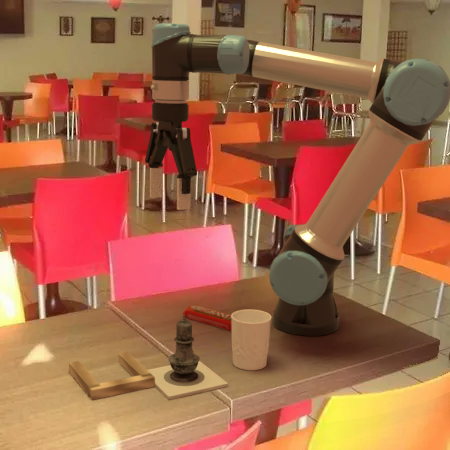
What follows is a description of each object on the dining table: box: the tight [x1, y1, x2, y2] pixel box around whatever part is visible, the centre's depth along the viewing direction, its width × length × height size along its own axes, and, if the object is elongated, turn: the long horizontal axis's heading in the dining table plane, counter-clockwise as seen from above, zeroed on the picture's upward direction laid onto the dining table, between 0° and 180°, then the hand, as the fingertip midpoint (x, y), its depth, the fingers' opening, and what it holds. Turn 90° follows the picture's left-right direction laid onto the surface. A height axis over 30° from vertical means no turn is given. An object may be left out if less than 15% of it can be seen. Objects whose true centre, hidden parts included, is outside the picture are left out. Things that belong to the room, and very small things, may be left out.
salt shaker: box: [167, 315, 201, 383], centre depth 133 cm, size 6×6×12 cm
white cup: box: [230, 308, 273, 371], centre depth 142 cm, size 8×8×10 cm
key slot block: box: [68, 351, 155, 401], centre depth 134 cm, size 12×13×2 cm
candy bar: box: [182, 304, 232, 332], centre depth 164 cm, size 16×4×3 cm, turn 53°
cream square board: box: [147, 361, 229, 401], centre depth 135 cm, size 12×12×1 cm
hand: (169, 203), depth 152 cm, fingers open, 13 cm apart
